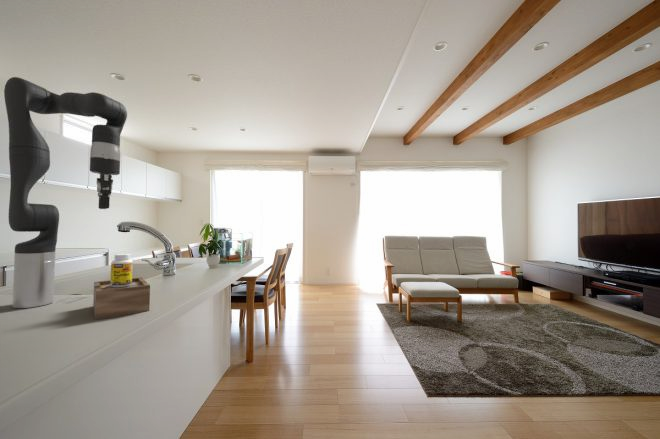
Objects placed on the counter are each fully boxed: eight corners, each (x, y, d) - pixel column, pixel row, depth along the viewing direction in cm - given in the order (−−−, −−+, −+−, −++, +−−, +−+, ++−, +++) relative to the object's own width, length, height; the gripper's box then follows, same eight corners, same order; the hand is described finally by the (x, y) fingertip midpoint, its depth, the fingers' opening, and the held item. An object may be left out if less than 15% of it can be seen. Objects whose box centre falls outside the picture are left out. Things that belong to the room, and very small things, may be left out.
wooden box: (93, 306, 90) (94, 281, 90) (140, 299, 99) (141, 277, 99) (95, 319, 78) (96, 291, 78) (149, 310, 87) (150, 285, 87)
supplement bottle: (109, 288, 84) (110, 255, 85) (110, 285, 89) (111, 253, 89) (132, 286, 88) (133, 254, 88) (132, 283, 92) (132, 253, 92)
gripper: (89, 160, 91) (87, 208, 91) (90, 152, 81) (88, 207, 81) (117, 163, 96) (116, 209, 96) (122, 157, 86) (120, 208, 86)
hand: (103, 208), depth 88 cm, fingers open, 8 cm apart
